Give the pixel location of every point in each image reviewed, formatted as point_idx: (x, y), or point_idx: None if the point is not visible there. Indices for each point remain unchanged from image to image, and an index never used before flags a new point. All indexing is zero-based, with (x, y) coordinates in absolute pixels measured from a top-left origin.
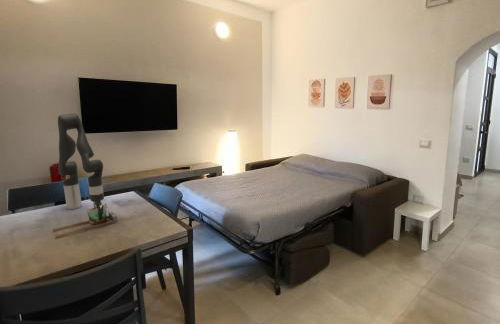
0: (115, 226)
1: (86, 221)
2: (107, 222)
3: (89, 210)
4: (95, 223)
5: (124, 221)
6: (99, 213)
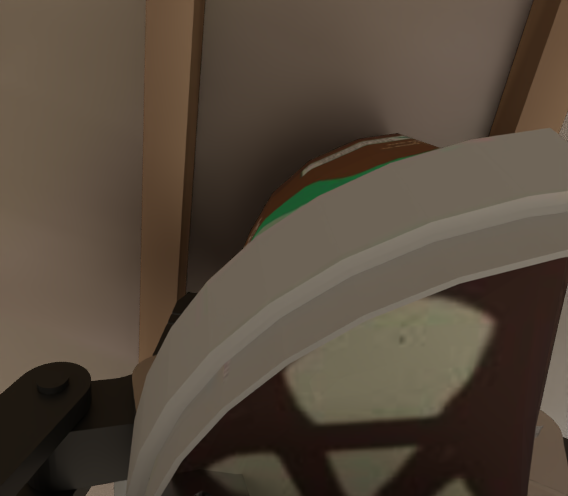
0: (11, 357)
1: (531, 102)
2: (144, 340)
3: (332, 259)
4: (276, 192)
5: (112, 482)
6: (3, 403)
